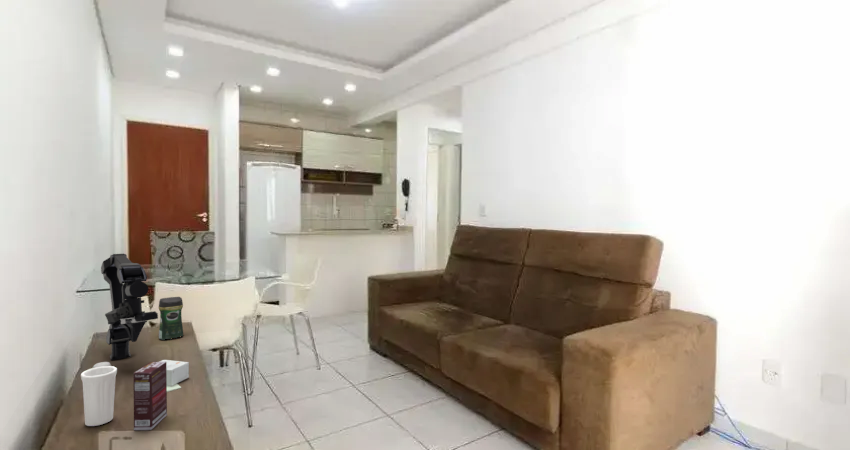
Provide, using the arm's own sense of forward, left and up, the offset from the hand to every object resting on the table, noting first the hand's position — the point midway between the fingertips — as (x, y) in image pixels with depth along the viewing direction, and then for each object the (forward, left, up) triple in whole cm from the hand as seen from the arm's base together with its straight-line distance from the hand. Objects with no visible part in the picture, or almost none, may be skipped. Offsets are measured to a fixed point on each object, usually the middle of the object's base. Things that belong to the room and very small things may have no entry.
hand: (134, 341), depth 155 cm
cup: (+39, -12, -11) cm, 42 cm away
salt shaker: (+28, -11, -11) cm, 31 cm away
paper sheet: (+22, +5, -11) cm, 25 cm away
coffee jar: (-36, +17, -11) cm, 42 cm away
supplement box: (+47, -1, -11) cm, 49 cm away
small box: (+14, +4, -7) cm, 16 cm away
